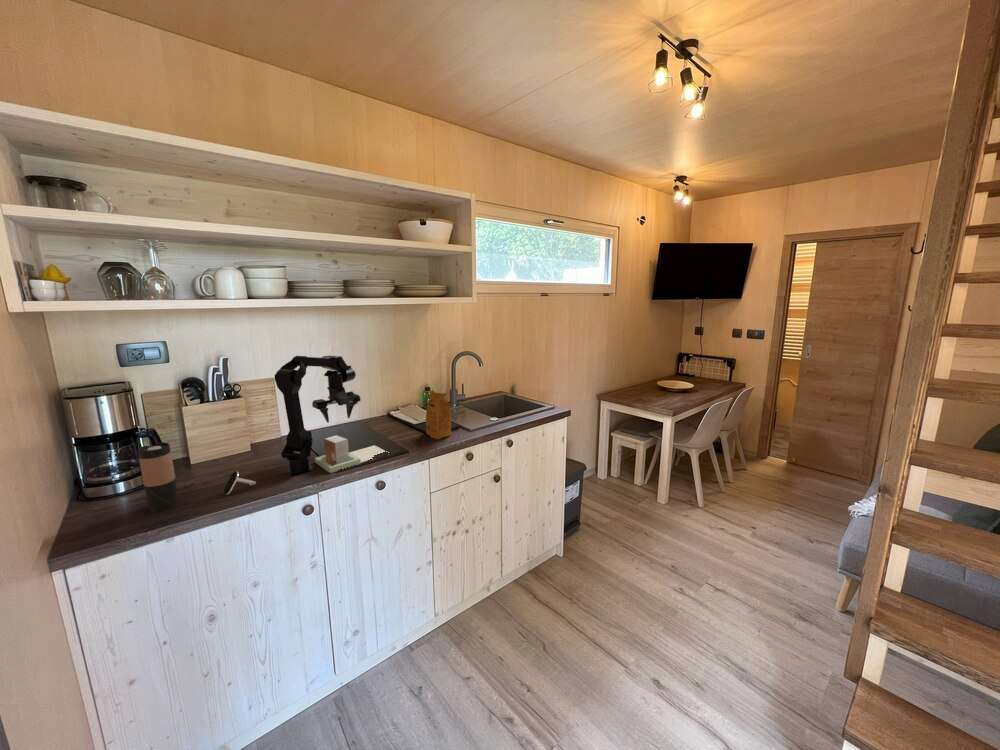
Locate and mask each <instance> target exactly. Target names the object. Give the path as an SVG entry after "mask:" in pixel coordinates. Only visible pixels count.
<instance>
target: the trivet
mask: <svg viewBox="0 0 1000 750" xmlns="http://www.w3.org/2000/svg"><path fill="white" fill-rule="evenodd" d="M385 451H386V450H384V449H382V448H380V447H379V446H377V445H371V446H368V447H364V448H360V449H357V450H353V451H351V452H350V451H349V453H351V454H353V455H354V456H356V457H358V458H359V459H361V463H364V462H368V460H369V461H371V460H370V459H372V460H374V459H373V458H372V457H374V455H377V454H380V453H383V452H385ZM386 452H388V451H386ZM388 453H390V452H388Z"/></svg>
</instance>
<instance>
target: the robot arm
mask: <svg viewBox="0 0 1000 750" xmlns="http://www.w3.org/2000/svg"><path fill="white" fill-rule="evenodd" d="M308 367H321V368H323V369H326V372H325V373H323V376H324V377H327V384H328V386H327V387H326V388H327V390H328V394H329V396H328V397H327V398H328V400H325V399H321V398H320V399H314V400H313V401H312V404H311V405H312V408H314V409H316V410H319V411H320V413H321V415H322V416H323V417H324V419H325V421H326V423H328V424H329V422H330V418H329V412H328V410H329V407H328V406H329V405H333V404H334V405H335V404H337V405H338V406H341V407H342V406H343V405H345V407H346V415H347V418H348V419H350V418H351V415H352V411H353V409H354V406H355V405H357V404H358V403H359V402H361V396H360V395H359V394H357V393H354V392H353V391H348V392H347V391H346V388H345V387H344V383H347V382H350V381H353V380H355V378H356V375H357V373H356V372H355V370H354V369H353V368H352V365H348V364H347V363H346V362H345V360H344V359H343V356H341V355H325V356H321V357H316V356H315V357H314V356H307V355H295V356H293V357H292V358H291V360H289V361H287V363H284V364H283V365H282V366H281V367H280V368H279V369H278V370H277V371H276V373H275V374H274V381H275V384H276V387H277V389H278V390H279V391H280V392H281V394H282V395H283V401H284V405H285V406H284V407H285V411H286V412H285V413H286V418H287V423H288V428H289V431H288V434H287V435H286V439H285V440H286V443H285V446H284V447H283V449H282V451H281V453H280V455H281V457H282V458H283V459H286V466H287V470H286V473H287V474H288V475H289V476H290V477H291V478H293V477H297V476H301V475H303V474H307V473H309V472H311V471H310V463H309V462H310V461H309V457H310V456H311V453H312V447H313V441H314V439H313V437H312V431H311V430H307V429H306V428H305V425H304V419H303V413H302V405H301V400H300V394H299V391H300V389H301V387H302V385H303V384H302V383H303V382H302V380H303V378H304V377H305V376H306V374H307V368H308Z"/></svg>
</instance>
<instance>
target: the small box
mask: <svg viewBox="0 0 1000 750" xmlns="http://www.w3.org/2000/svg"><path fill="white" fill-rule="evenodd" d="M323 441H324V455H325V456H326V462H327V463H329V464H331V465H337V464H340V463H343V462H347V461H350V460H349V452H350V451H349V439H348V438H345V437H342V436H339V435H337V434H336V435H333V436H330V437H326V438H324V439H323Z"/></svg>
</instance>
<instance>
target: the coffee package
mask: <svg viewBox="0 0 1000 750" xmlns="http://www.w3.org/2000/svg"><path fill="white" fill-rule="evenodd" d="M451 412H452V407H451V405H450V403H449V401H448V400H447V393H445V392H437V390H435V389H434V388H433V389H431V391H430V394H429V398H428V401H427V405H426V414H425V415H426V416H425V425H426V429H425V431H426V435H428V436H429V437H430V438H432V439H435V440H441V439H443V438H446V437H450V436H451V435H452V413H451Z"/></svg>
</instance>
